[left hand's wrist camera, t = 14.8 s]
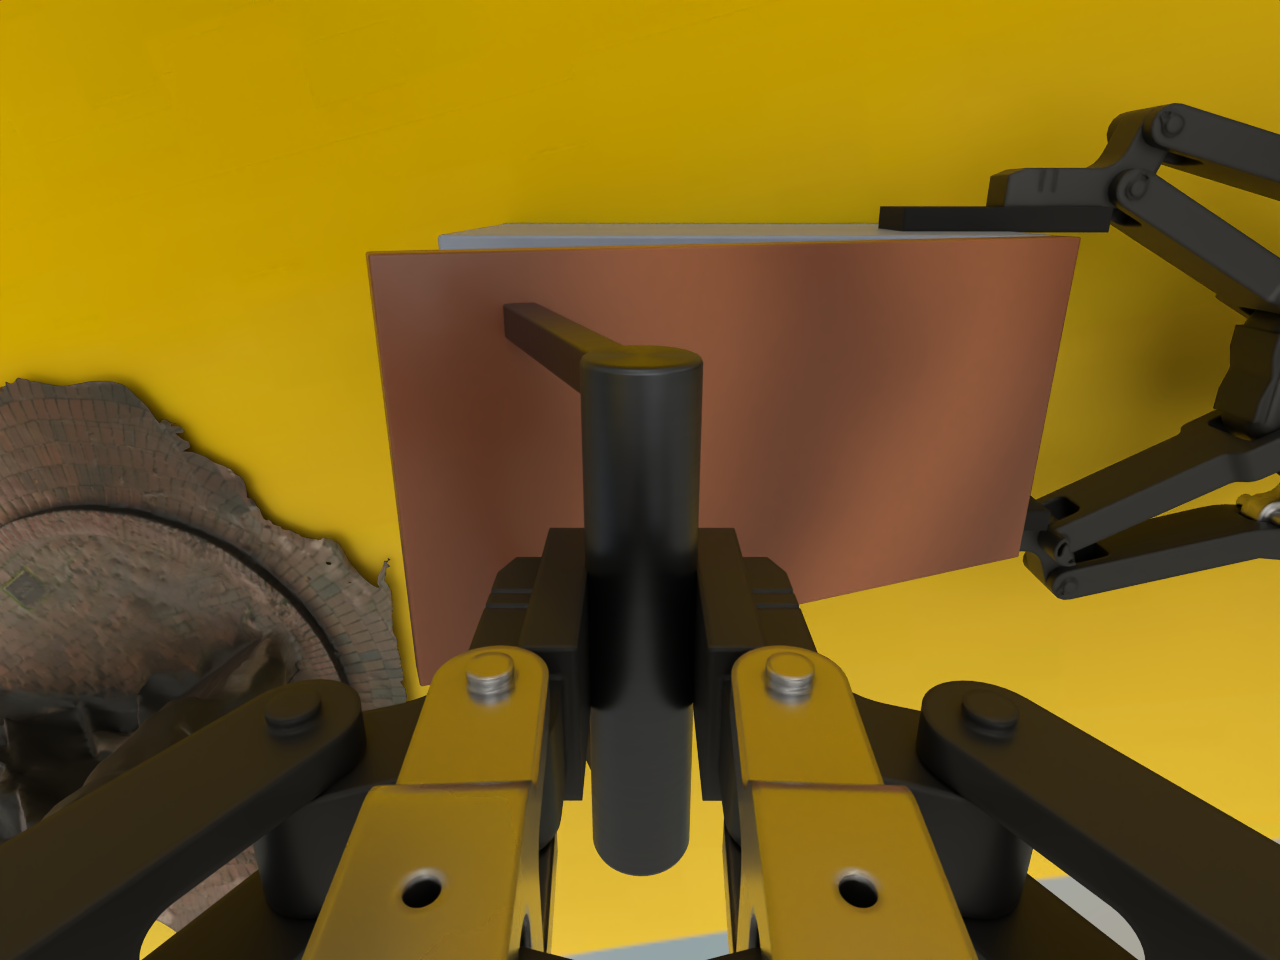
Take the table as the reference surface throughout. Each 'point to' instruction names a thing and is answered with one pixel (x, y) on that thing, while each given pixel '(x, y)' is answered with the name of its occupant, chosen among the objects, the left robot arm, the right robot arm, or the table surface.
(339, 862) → the left robot arm
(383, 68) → the table surface
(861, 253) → the lid
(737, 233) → the chest
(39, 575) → the sculpture
